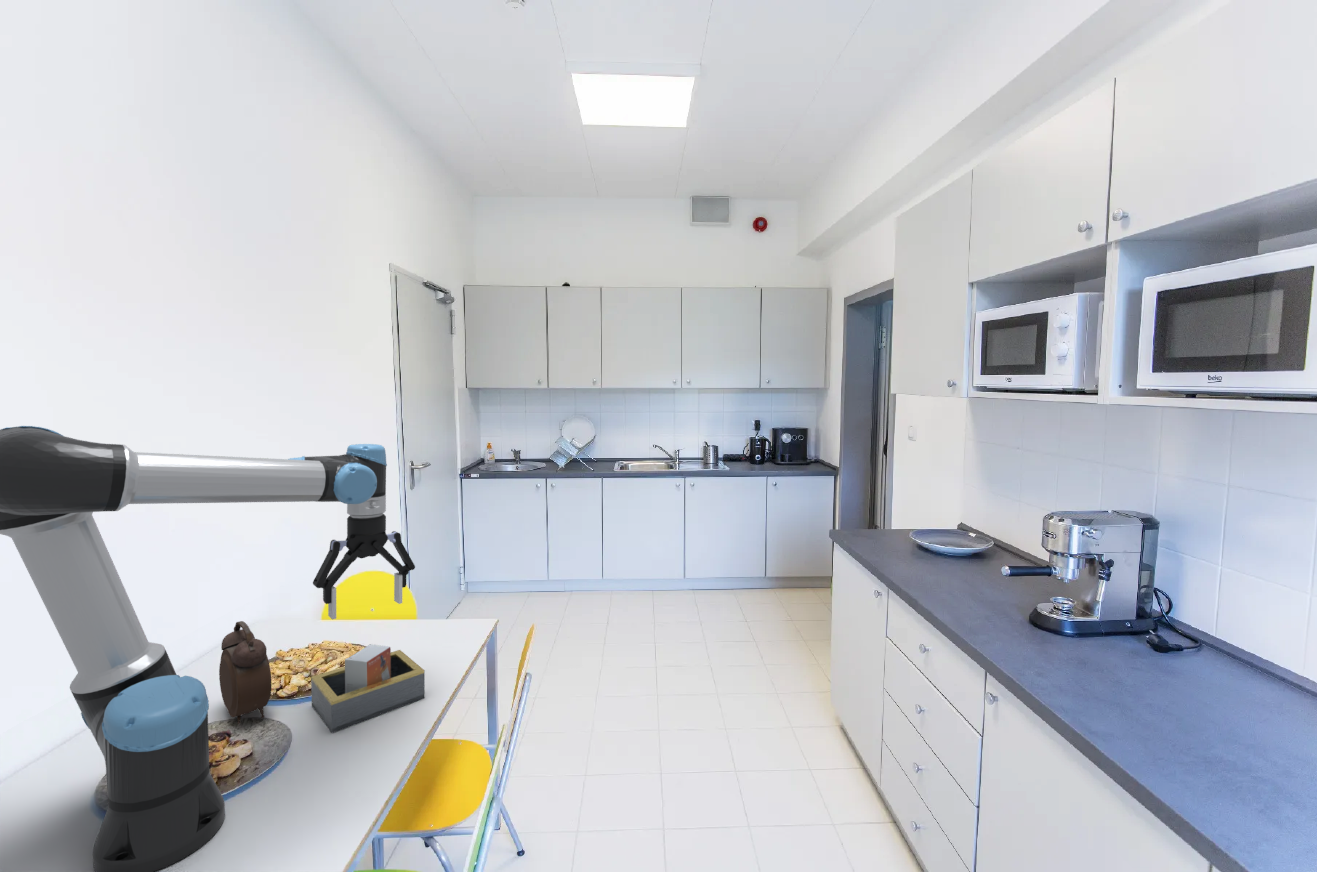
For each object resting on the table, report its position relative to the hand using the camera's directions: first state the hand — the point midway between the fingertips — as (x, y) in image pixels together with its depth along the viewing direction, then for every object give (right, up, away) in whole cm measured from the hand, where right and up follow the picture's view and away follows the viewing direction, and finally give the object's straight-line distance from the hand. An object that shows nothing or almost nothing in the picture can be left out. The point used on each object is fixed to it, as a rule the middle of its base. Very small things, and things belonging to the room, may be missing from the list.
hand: (366, 609), depth 122 cm
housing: (0, -21, +2) cm, 22 cm away
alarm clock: (-24, -21, -4) cm, 32 cm away
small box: (0, -21, +2) cm, 21 cm away
